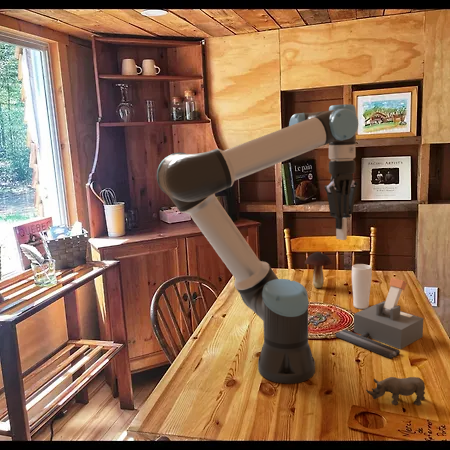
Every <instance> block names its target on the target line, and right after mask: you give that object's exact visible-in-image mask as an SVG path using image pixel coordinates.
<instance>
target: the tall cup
mask: <svg viewBox="0 0 450 450" xmlns="http://www.w3.org/2000/svg"><path fill="white" fill-rule="evenodd" d="M372 271H373V270H372V266H371V265H370V264H369V265H368V264H364V263H355V264H353V265H352V266H351V287H352V300H353V302H352V306H353V307H354V308H356V309H359V310H364V309H366V308H369V307H370V295H371V294H370V293H371V286H372V278H373V277H372V274H373V273H372Z"/></svg>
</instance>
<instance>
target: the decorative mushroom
mask: <svg viewBox="0 0 450 450" xmlns="http://www.w3.org/2000/svg"><path fill="white" fill-rule="evenodd" d="M304 264H305V265H310V266H314V267H313V274H312V286H313V287H314V288H316V289H321V288H322V287H323V286H324V279H325V278H324V269H323V266H324V267H325V266H330V265H332V264H333V261H332V259H331V258H330V257H329V256H328V255H326V253H323V252H320V251H316V252H313V253H311V254H309V256H307V257H306V259H305V261H304Z"/></svg>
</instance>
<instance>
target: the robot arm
mask: <svg viewBox="0 0 450 450" xmlns="http://www.w3.org/2000/svg"><path fill="white" fill-rule="evenodd" d="M288 123H289V124H288V126H287V127H286V126H285V127H284V128H281V129H278V130H275V131H273V132H270V133H267V134H265V135H262V136H260V137H257V138H254V139H251V140H249V141H246V142H243V143H241V144H238V145H235V146H233V147H230V148H227V149H224V150H222V149H220V148H217V147H216V148H215V149H212V150H207V151H205V152H199V153H186V152H181V151H180V152H173V153H172V154H170V155H168V156H166V157H164V159H162V160H161V162H160V164H159V165H158V168H157V169H156V180H157V184H158V187H159V188H160V190H161V191H162V192H163V193H164V194H166V195H167V196H168V197H169V199H170V200H171V201H172V203H173V204H174V205H175V207H176V208H177V210H178V211H179V213H181V214H187V215H189V216H190V217H191V219H192V221H193V222H194V223H195V225H196V226H197V228H198V229H199V231H200V232H201V233H202V235H203V236H204V237H205V238H206V240H207V242H209V244H210V245H211V247H212V248H213V250H214V251H215V253H216V254H217V255H218V257H219V258H220V259H221V261H222V263H224V264H225V266H226V268H227V269H228V270H229V272H230V273H231V275H232V276H233V277H234V283H233V284H234V288H235V289H236V291H237V293H239V295H240V298H241V300H242V302H243V303H244V304H245V306H247V307H248V308H249V309H250V310H251V311H252V312H253V313H254V314H256V315H257V316H258V318H259V319H261V320H262V321H263V344H262V346H261V351H260V355H259V357H258V361H257V369H258V372H259V374H260V375H261V376H262V377H264V378H265V379H266V380H268V381H271V382H274V383H279V384H289V385H290V384H298V383H299V384H300V383H302V382H305V381H307V380H309V379H311V378H312V377H313V376H314V375H315V373H316V361H315V358H314V356H313V353H312V349H311V346H310V344H309V303H310V302H309V296H308V291H307V289H306V288H307V287H305V286H304V285H303V284H302V283H301V282H298V281H296V280H291V279H288V278H279V277H278V276H277V275H276V273H275V271H274V270H273V269H272V267H271V265H270V264H269V263H268V262H266V261H263V260H262V261H261V260H260V259H259V257H257V255H256V253H255V252H254V250H253V249H252V247H251V246H250V244H249V243H248V242H247V240H246V238H245V237H244V236H243V235H242V233H241V232H240V230H239V229H238V227H237V226H236V224H235V222H233V220H232V218H231V216H229V214H228V213H227V211H226V210H225V208H224V207H223V206H222V204H221V202H220V201H219V200H218V198H217V197H216V194H217V193H219V192H222V191H224V190H226V189H230V188H231V187H233V185H234V183H235V181H237V180H239V179H242V178H245V177H247V176H250V175H253V174H255V173H258V172H260V171H262V170H266V169H267V168H270V167H273V166H275V165H277V164H280V163H282V162H285V161H288V160H290V159H293V158H295V157H297V156H300V155H303V154H305V153H307V152H310V151H313V150H316V149H317V148H320V147H323V146H325V145H328V159H329V160H330V161H328V173H329V174H330V175H331V176H330V183H329V184H328V185H324V190H325V193H326V196H327V197H326V198H327V202H328V208H329V215H330V217H332V218H334V219H335V229H336V230H335V233H336V234H335V239H336V240H341V241H345V240H347V239H348V238H347V236H348V235H347V234H348V230H347V229H348V219H350V218H351V217H352V215H353V213H354V207H355V201H356V200H355V199H356V194H357V189H358V187H359V181H355V180H354V176H353V174H355V173H356V161H355V158H356V142H357V141H356V139H357V132H358V129H359V119H358V116H357V109H356V106H355V105H354V104H352V103H351V104H349V103H348V104H346V103H345V104H334V105H330V106H329V108H328V110H323V111H322V110H321V111H316V112H300V113H294V114H293V115H292V116H291V117H290V119H289V122H288Z"/></svg>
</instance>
